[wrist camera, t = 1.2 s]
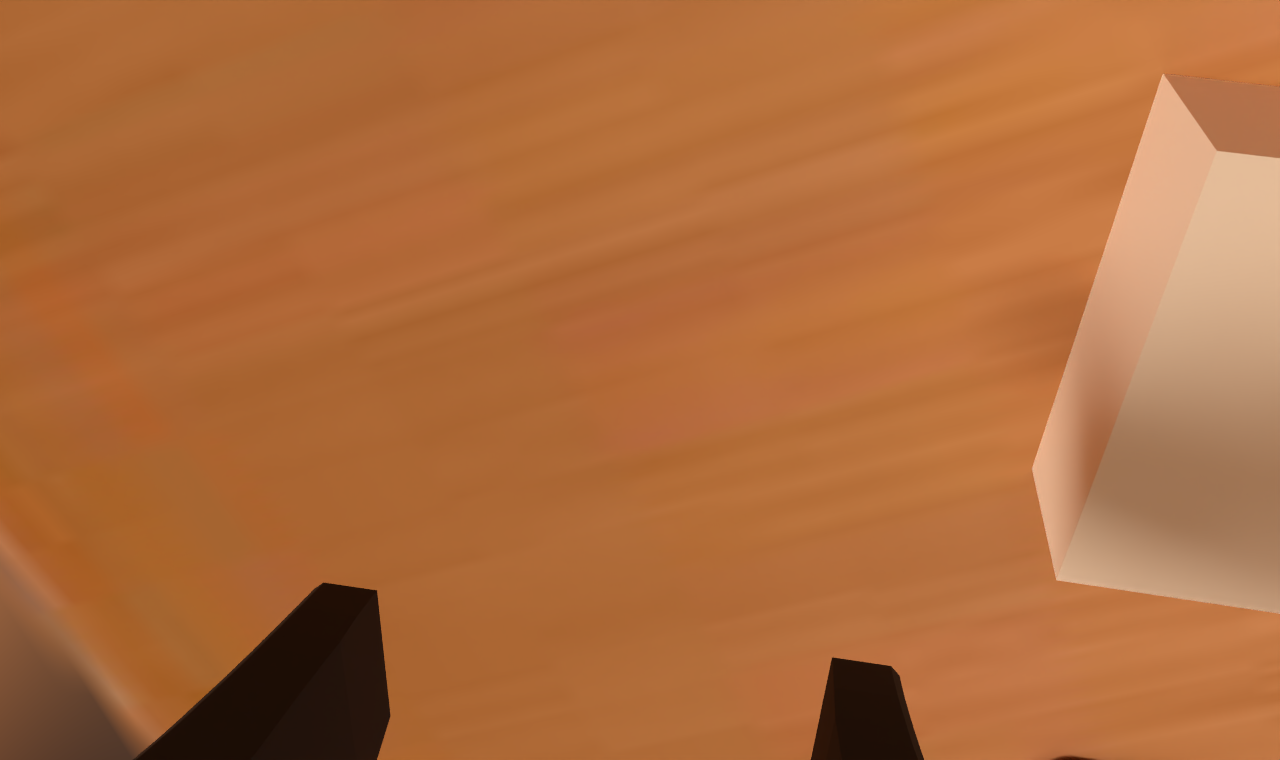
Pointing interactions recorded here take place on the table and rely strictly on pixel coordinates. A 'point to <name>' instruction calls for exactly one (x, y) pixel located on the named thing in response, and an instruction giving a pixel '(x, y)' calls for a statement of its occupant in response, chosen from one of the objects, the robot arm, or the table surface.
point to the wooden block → (1179, 366)
